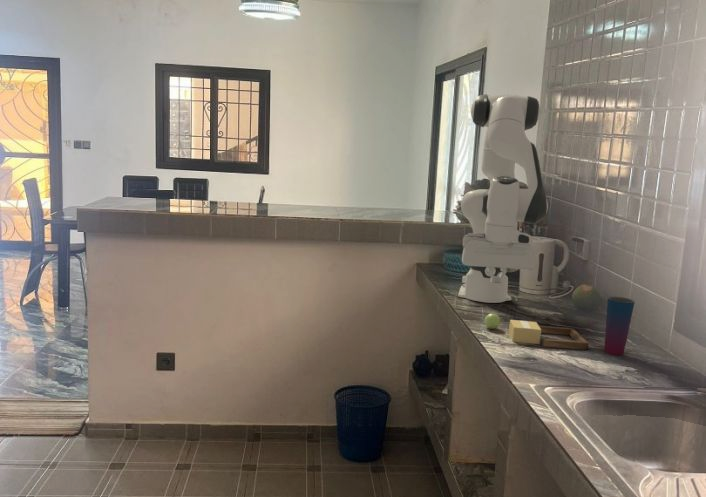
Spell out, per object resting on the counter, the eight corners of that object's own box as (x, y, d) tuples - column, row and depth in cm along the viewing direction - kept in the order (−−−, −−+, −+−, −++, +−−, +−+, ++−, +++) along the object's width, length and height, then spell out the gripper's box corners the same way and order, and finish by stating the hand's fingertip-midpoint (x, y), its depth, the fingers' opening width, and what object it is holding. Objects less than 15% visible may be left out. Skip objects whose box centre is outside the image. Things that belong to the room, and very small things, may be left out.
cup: (629, 357, 173) (637, 303, 170) (603, 354, 174) (610, 301, 172) (624, 350, 180) (631, 297, 177) (598, 347, 181) (605, 295, 178)
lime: (482, 325, 195) (484, 311, 194) (497, 326, 195) (499, 312, 194) (485, 330, 190) (486, 315, 190) (500, 331, 190) (502, 316, 189)
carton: (508, 334, 189) (510, 319, 188) (534, 336, 188) (536, 321, 187) (512, 342, 181) (514, 327, 180) (539, 344, 180) (541, 329, 179)
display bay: (531, 331, 192) (531, 325, 192) (572, 333, 192) (573, 328, 192) (543, 346, 178) (544, 340, 178) (587, 349, 178) (588, 343, 178)
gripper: (464, 233, 178) (460, 282, 180) (539, 238, 177) (534, 287, 179) (461, 231, 184) (457, 278, 186) (533, 235, 183) (528, 282, 186)
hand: (495, 282), depth 183 cm, fingers closed
